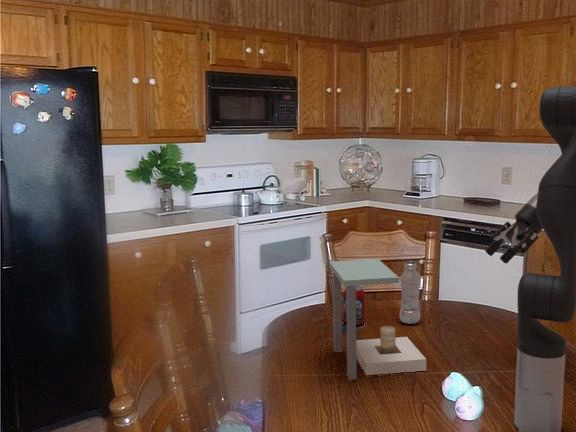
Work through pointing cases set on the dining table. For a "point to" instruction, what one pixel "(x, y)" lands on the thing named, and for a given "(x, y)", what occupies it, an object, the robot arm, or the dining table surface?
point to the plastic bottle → (410, 294)
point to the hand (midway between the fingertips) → (495, 257)
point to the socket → (389, 357)
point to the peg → (387, 340)
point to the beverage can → (357, 304)
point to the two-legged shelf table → (354, 299)
